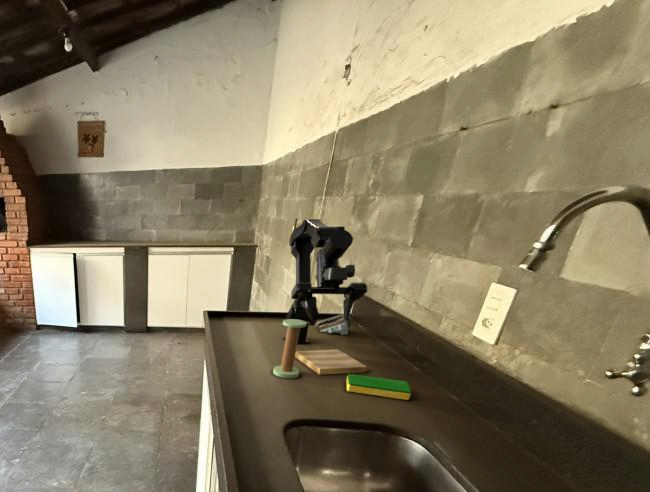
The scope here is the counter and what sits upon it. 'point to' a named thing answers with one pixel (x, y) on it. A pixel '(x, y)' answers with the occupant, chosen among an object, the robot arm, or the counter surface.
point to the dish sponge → (378, 386)
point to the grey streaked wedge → (335, 324)
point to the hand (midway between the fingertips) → (328, 319)
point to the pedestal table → (295, 371)
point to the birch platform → (330, 362)
